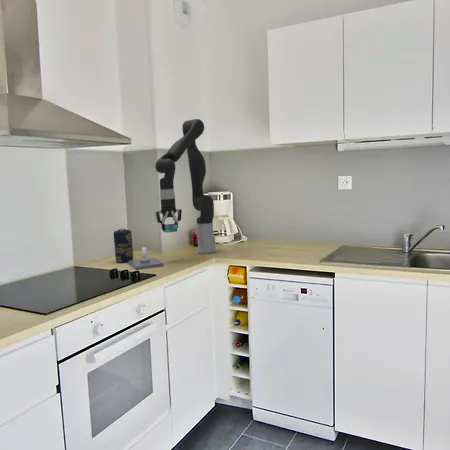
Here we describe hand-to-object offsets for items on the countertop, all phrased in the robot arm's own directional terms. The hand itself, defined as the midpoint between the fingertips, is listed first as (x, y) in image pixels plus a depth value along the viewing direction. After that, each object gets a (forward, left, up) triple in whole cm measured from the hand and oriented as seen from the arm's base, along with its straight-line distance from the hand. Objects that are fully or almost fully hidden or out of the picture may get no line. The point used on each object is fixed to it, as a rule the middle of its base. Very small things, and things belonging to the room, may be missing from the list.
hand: (169, 229), depth 221 cm
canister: (+21, -18, -17) cm, 33 cm away
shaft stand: (+14, -1, -17) cm, 22 cm away
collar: (0, 0, -1) cm, 1 cm away
